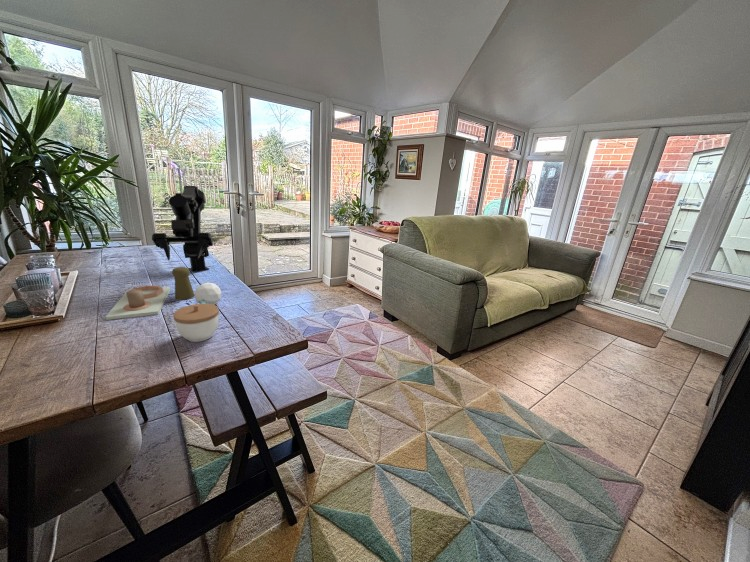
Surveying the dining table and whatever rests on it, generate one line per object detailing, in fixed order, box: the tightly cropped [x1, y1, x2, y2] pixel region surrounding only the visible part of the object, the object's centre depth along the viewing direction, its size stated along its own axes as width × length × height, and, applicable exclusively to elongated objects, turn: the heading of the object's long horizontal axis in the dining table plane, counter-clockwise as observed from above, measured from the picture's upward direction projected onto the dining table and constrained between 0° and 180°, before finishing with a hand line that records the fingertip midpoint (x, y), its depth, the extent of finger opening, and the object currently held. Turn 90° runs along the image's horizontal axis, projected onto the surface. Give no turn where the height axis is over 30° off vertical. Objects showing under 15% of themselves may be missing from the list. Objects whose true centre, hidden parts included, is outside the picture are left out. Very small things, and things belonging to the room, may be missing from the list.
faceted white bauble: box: [194, 281, 222, 306], centre depth 101 cm, size 8×8×12 cm
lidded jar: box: [172, 303, 220, 343], centre depth 82 cm, size 11×11×9 cm
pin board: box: [105, 284, 172, 321], centre depth 101 cm, size 23×13×6 cm, turn 24°
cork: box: [171, 266, 195, 301], centre depth 107 cm, size 6×6×11 cm
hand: (183, 259), depth 110 cm, fingers open, 9 cm apart
